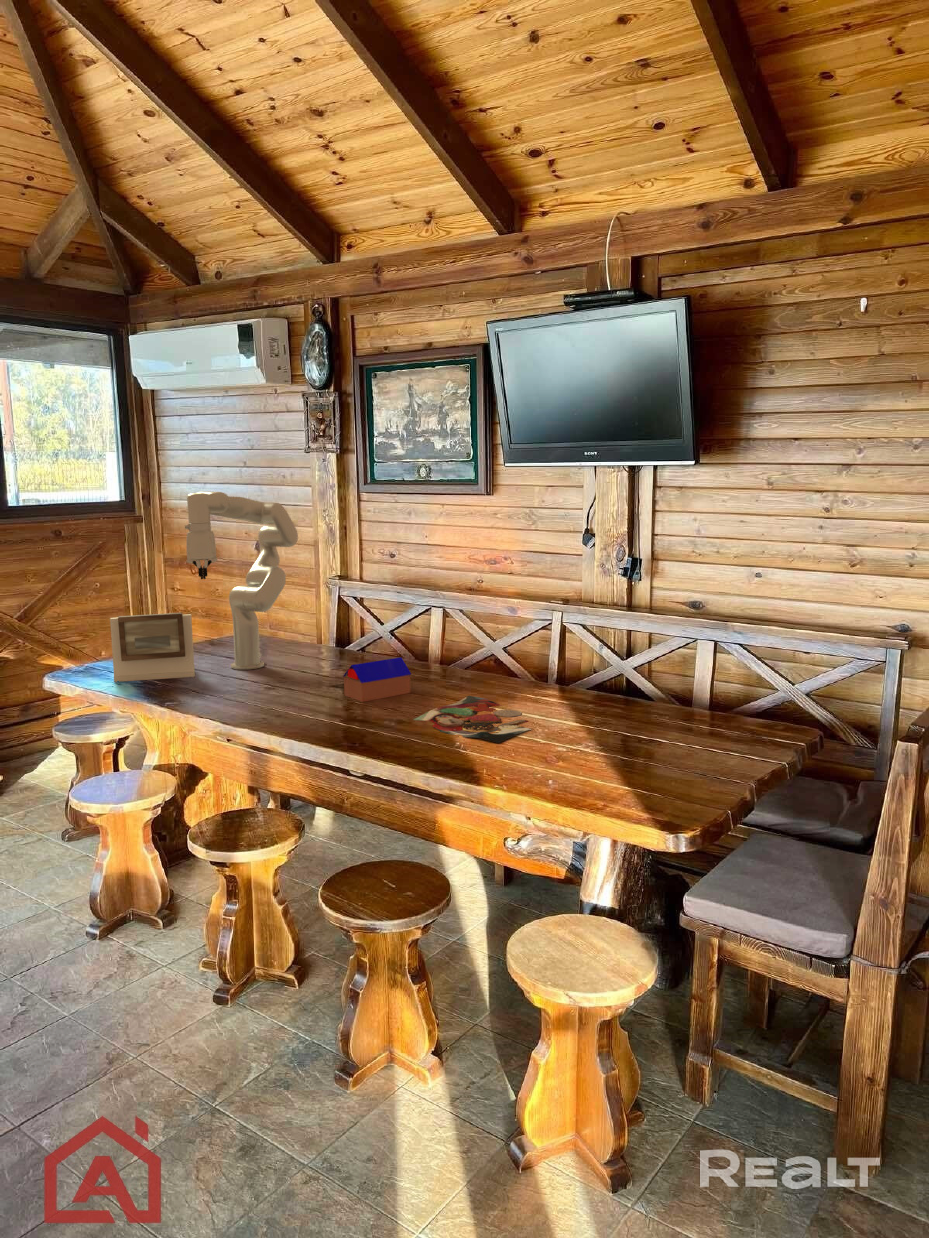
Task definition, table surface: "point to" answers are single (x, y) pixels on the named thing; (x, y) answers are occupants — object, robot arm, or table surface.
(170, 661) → the display board
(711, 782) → the table surface
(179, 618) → the picture frame
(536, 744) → the table surface
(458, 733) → the platter
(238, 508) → the robot arm
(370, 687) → the house
